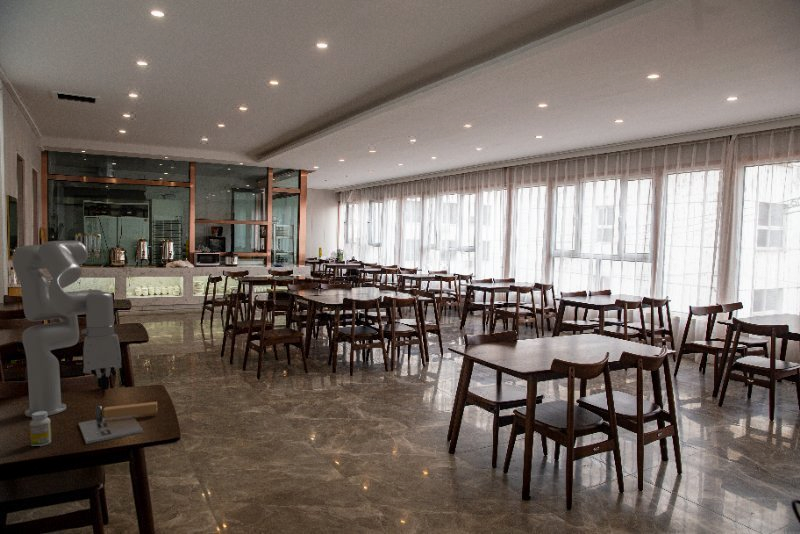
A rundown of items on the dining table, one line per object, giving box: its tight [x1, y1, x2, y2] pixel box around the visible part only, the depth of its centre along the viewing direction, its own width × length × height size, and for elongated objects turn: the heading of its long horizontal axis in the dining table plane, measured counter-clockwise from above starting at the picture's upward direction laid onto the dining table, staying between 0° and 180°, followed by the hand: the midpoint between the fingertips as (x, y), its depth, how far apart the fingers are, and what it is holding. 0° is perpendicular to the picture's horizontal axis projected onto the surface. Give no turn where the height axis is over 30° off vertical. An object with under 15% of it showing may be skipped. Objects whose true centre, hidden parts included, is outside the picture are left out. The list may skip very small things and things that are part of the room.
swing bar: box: [102, 401, 158, 419], centre depth 188 cm, size 16×3×3 cm, turn 110°
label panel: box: [78, 405, 144, 445], centre depth 178 cm, size 20×16×6 cm
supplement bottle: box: [29, 411, 52, 447], centre depth 166 cm, size 5×5×10 cm
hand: (103, 388), depth 172 cm, fingers closed
